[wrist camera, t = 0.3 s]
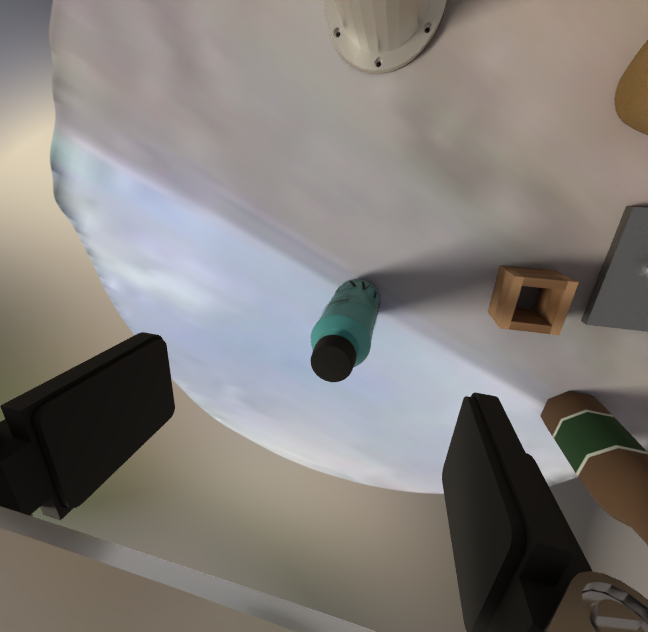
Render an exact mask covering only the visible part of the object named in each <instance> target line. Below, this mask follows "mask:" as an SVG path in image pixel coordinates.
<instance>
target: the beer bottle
mask: <svg viewBox="0 0 648 632" xmlns="http://www.w3.org/2000/svg"><path fill="white" fill-rule="evenodd" d="M541 418H542V419H543V421H544V423H545V425H546V427H547V428H548V430H549V431H550V433H551V435H552V436H553V438H554V439H555V441H556V442H557V444H558V446H559V447H560V449H561V450H562V452H563V454H564V455H565V457H566V458H567V460H568V461H569V463H570V465H571V466H572V468H573V469H574V471H575V473H576V474H577V476H578V477H579V479H580V480H581V481H582V483H583V484H584V486H585V487H586V488H587V490H588V491H589V493H590V494H591V495H592V497H593V498H594V499H595V501H596V502H597V503H598V505H599V506H600V507H601V508H602V509H603V510H604V511H606V512H607V513H608V514H609V515H611V516H612V517H613V518H614V519H616V520H618V521H620V522H622V523H624V524H626V525H628V526H630V527H632V528H633V529H634V531H635V532H636V533H637V534H638V535H639V536H640V537H641V538H642V539H643V540H644V541H645V542H646V544H647V545H648V452H647V451H646V450H645V449H644V448H643V447H642V446H641V445H640V444H639V443H638V442H637V441H636V440H635V438H634V437H633V436H632V435H631V434H630V433H629V432H628V431H627V430H626V429H625V428H624V427H623V426H622V425H621V424H620V423H619V422H618V421H617V420H616V419H615V418H614V417H613V416H612V415H611V413H610V412H609V411H608V410H607V409H606V408H605V407H604V406H603V405H602V404H601V403H600V402H599V401H598V400H596V399H595V398H594V397H593V396H590V395H585V394H580V393H575V392H570V391H568V392H565V393H563V394H560V395H558V396H555V397H553V398H550V399H548V401H547V403H546V405H545V407H544V409H543V411H542V414H541Z"/></svg>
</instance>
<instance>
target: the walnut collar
mask: <svg viewBox="0 0 648 632" xmlns="http://www.w3.org/2000/svg"><path fill="white" fill-rule="evenodd" d="M578 283H579V282H577V281H575V280H573V279H571V278H569V277H567V276H565V275H563V274H561V273H559V272H557V271H554V270H543V269H531V268H519V267H507V266H500V268H499V272H498V276H497V279H496V283H495V287H494V291H493V294H492V298H491V302H490V306H489V310H488V313H489V314H490V316H491V317H492V318H493V320H494V321H495V322H496V324H497V325H498V326H499V328H503V329H512V330H520V331H528V332H537V333H545V334H553V335H559V334H560V332H561V329H562V326H563V324H564V321H565V318H566V316H567V313H568V310H569V308H570V305H571V302H572V299H573V297H574V294H575V291H576V289H577V286H578ZM522 286H528V287H539V288H541V289H540V292H539V295H538V298H537V301H536V304H535V307H534V310H530V309H520V308H515V307H516V304H517V300H518V297H519V294H520V290H521V287H522Z"/></svg>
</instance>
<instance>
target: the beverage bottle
mask: <svg viewBox="0 0 648 632" xmlns="http://www.w3.org/2000/svg"><path fill="white" fill-rule="evenodd" d="M340 286H341V285H340ZM375 288H376V287H375V286H373V284H370V283H369V282H367V281H365V280H363V279H362V280H360V279H354V280H351V279H350V280H349V281H348V280H347V281H346V282H344V284H343V285H342V286H341V287H339V288H338V290H336V292H337V293H336V292H335V293H336V294H335V296H334V297H333V298H332V300H331V302H329V303H328V304H329V305H327V306H326V307H327V308H326V307H325V308H326V310H325V309H324V310H323V311H324V313H323V315H322V316H321V318H320V320H319V321H318V322H317V323H316V325H315V326H314V328H313V330H312V333H311V345H312V349H313V353H312V356H311V366H312V369H313V371H314V372H315V373H316V375H317V376H319V377H320V378H321V379H323V380H325V381H329V382H339V381H342V380H344V379H345V378H347V377H348V376H349V375H350V373H351V371H352V369H353V367H355V366H357V365H359V364H360V363H362V362H363V361H364V360H365V359H366V357H367V356H368V354H369V351H370V347H371V339H372V334H373V329H374V328H375V327H374V325H375V323H376V322H375V321H376V318H377V317H376V316H377V314H378V313H379V312H378V309H379V308H380V307H379V305H380V302H379V295H378V290H376V289H375ZM377 312H378V313H377ZM321 314H322V313H321Z"/></svg>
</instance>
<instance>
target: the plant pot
mask: <svg viewBox="0 0 648 632" xmlns="http://www.w3.org/2000/svg"><path fill="white" fill-rule="evenodd" d="M615 107H616V112H617V114H618V116H619V118H620V119H621V120H622V121H623V122H624V123H625V124H627V125H628V126H630V127H632V128H633V129H635V130H637V131H639V132H642V133H644V134H646V135H648V40H647V42H646V43H645V44H644V45H643V47H642V48H641V49H640V51H639V52H638V53H637V55H636V56H635V57H634V59H633V60H632V62H631V63H630V65H629V66H628V68H627V69H626V71H625V72H624V74H623V76H622V77H621V79H620V81H619V84H618V86H617V90H616V94H615Z"/></svg>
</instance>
